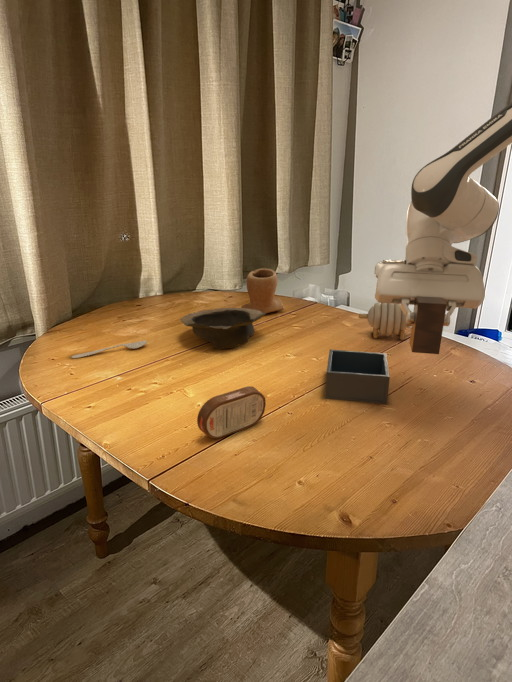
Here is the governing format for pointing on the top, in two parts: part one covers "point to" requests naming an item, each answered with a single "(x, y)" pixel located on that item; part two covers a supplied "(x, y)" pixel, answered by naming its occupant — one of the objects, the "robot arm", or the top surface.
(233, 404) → the tin
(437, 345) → the block
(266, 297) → the terracotta vase
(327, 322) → the top surface
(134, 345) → the spoon
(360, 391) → the gray open box
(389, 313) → the toy sheep
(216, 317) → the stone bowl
